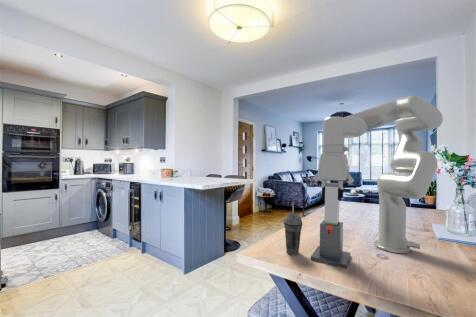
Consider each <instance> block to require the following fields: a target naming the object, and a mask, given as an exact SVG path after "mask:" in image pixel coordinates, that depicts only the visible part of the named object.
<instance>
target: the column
mask: <svg viewBox="0 0 476 317" xmlns="http://www.w3.org/2000/svg"><path fill="white" fill-rule="evenodd" d="M339 188H340V187H339V182H327V183H326V184H325V199H324V220H325V221H324V224H328V225H334V226H338V225H339V222H340V200H338V190H339Z"/></svg>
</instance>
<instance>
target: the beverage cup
mask: <svg viewBox="0 0 476 317" xmlns="http://www.w3.org/2000/svg"><path fill="white" fill-rule="evenodd" d="M291 204H292V206H291V207H292V212H290V213H287V215H285V217H284V220H283V227H284V232H285V233H284V234H285V236H284V237H285V248H286V253H287V254H288V255H290V256H291V255H293V256H297V255H299V250H300V244H301V243H300V242H301V235H302V229H303V219H302V218H301V215H299V214H298V213H296V212H295V208H294V207H295V202H292V203H291Z"/></svg>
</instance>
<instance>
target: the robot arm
mask: <svg viewBox="0 0 476 317" xmlns="http://www.w3.org/2000/svg"><path fill="white" fill-rule="evenodd" d="M443 120H444V117H443V114H442V112H441V110H439V109H438V107H437V106H434V105H433V103H430V102H429V101H428V100H426V99H425V98H423V97H421V96H418V95H415V94H412V95H409V96H404V97H398V98H394V99H391V100H388V101H386V102H383V103H380V104H379V105H375V106H372V107H370V108H367V109H364V110H361V111H359V112H356V113H353V114H350V115H349V114H348V115H347V116H344V117H342V116H328V117H325V118H324V119H323V121H322V122H323V123H322V153H320V155H319V161H318V168H317V172H316V173H315V174H314V176H313V177H312V180H313V181H314V182H316V183H317V184H318V185H319V186H320V188H321V197H322V199H323V200H325V184H326V183H328V181H330V182H331V181H333V182H337V183H339V187H340V188H339V190H338V200H339V201H341V200H342V199H343V198H344V189H345V188H346V187H348V186H350V184H353V183H354V182H355V180H354V178H353V177H352V176H351V174H350V173H349V163H348V162H349V161H348V154H346V153H345V152H348V151H349V150H350V149H349V148H350V147H348V146H345V139H351V138H358V137H362V136H363V135H364V134H365V133H366V132H367V131H368V130H374V129H378V128H381V127H384V126H385V125H388V124H390V123H393V122H394V127H395V129H396V132H397V134H398V139H399V142H398V145H397V147H396V149H395V151H394V154H393V156H392V158H391V161H390V164H389V165H390V169H391V170H392V171H393V172H385V173H382V174H380V175H379V177H378V178H377V180H376V187H377V191H378V192H377V193H378V198H379V199H378V200H379V205H378V206H379V207H378V239H375V240H374V242H373V244H374V246H375V247H376V248H378V249H381V250H383V251H385V252H389V253H395V254H408V253H410V252H411V248H413V249H418V250H421V244H420V243H416V241H410V240H408V239H407V236H406V235H407V234H406V233H407V206H406V205H407V204H406V203H405V200H404V199H403V198H405V199H411V200H420V199H423V198H424V197H425V196H426V195H427V192H428V191H429V188H430V186H431V184H432V181H433V179H434V177H435V175H436V171H437V168H438V159H437V157H436V155H435V154H434V153H433V152H430V151H425V150H423V146H424V143H423V140H422V138H420V137H419V135H418V134H417V133H416V132H420V131H430V130H431V131H432V130H436V129H438V128H440V127H441V125H442V123H443ZM347 180H348V181H347Z"/></svg>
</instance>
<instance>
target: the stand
mask: <svg viewBox="0 0 476 317" xmlns="http://www.w3.org/2000/svg"><path fill="white" fill-rule="evenodd" d="M324 221H325V219H323V220H322V221H321V222H320V224H319V245H318V246H317V247H316V248H315V249H314V251H313V252H312V254H311V256H310V260H311V261H314V262H318V263H322V264H326V265H330V266H335V267H338V268H343V269H348V266H349V262H350V259H351V252H350V251H349V252H348V251H344V250H343V247H344V246H343V245H344V243H343V242H344V222H341V221H339V225H338V226H334V225H328V224H324Z"/></svg>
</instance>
